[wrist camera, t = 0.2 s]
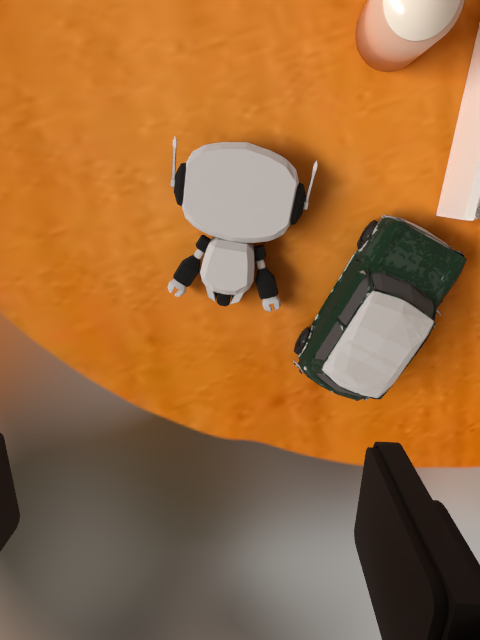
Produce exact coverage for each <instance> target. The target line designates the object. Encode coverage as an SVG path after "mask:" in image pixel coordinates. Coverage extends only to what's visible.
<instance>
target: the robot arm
mask: <svg viewBox="0 0 480 640" xmlns="http://www.w3.org/2000/svg"><path fill="white" fill-rule="evenodd" d="M19 518H20V513H19V508H18V504H17V498H16V493H15V489H14V484H13V479H12V474H11V469H10V465H9V460H8V455H7V450H6V445H5V440H4V437H3V435H2V434H1V433H0V551H1V550H2V548H3V547H4V545H5V544H6V542H7V541H8V540H9V538H10V537H11V535H12V534H13V533H14V531H15V530H16V528H17V525H18V523H19ZM354 537H355V544H356V548H357V552H358V555H359V559H360V562H361V566H362V570H363V573H364V576H365V580H366V584H367V587H368V591H369V594H370V598H371V602H372V605H373V609H374V612H375V615H376V619H377V623H378V626H379V630H380V634H381V637H382V640H480V565H479V563H478V561H477V560H476V558H475V556H474V555H473V553H472V551H471V550H470V548H469V546H468V544H467V543H466V541H465V539H464V538H463V536H462V534H461V533H460V531H459V530H458V528H457V526H456V524H455V523H454V521H453V519H452V518H451V516H450V514H449V513H448V511H447V509H446V508H445V507H444V505H443V504H442V503H441V502H439V501H437V500H432V498H431V496H430V495H429V493H428V491H427V489H426V488H425V486H424V484H423V483H422V481H421V479H420V477H419V475H418V474H417V472H416V470H415V468H414V467H413V465H412V463H411V461H410V459H409V458H408V456H407V454H406V452H405V451H404V449H403V447H402V446H401V444H400V443H394V442H375V444H374V446H373V448H370V447H368V448H367V450H366V455H365V461H364V468H363V475H362V482H361V488H360V495H359V502H358V509H357V515H356V522H355V529H354Z"/></svg>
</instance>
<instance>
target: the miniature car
mask: <svg viewBox="0 0 480 640" xmlns="http://www.w3.org/2000/svg"><path fill="white" fill-rule="evenodd" d="M382 218H384V219H382V221H381V219H380V221H379V222H377V221H375V220H373V221H372V222H370V224H369V225H368V226H367V227H366V228H365V230H364V231H363V233H362V235H361V236H360V239H359V241H358V243H357V247H358V251H357V252H355V253H354V255H353V256H352V258H351V260H350V261H349V263H348V265H347V266H346V268H345V270H344V271H343V273H342V275H341V276H340V278H339V280H338V281H337V283H336V285H335V286H334V288H333V290H332V291H331V293H330V295H329V296H328V298H327V300H326V301H325V303H324V305H323V306H322V308H321V310H320V311H319V313H318V315H317V316H316V318H315V320H314V321H313V323H312V326H311V329H310V328H308V327H307V328H306V329H304V330H303V331H302V333H301V334H300V336H299V338H298V340H297V342H296V344H295V348H294V352H295V353H296V354H298V355H299V356H298V358H299V362H298V364H297V363H296V362H295V360H293V363H294V364H295V365H296V366H297V367H298V368H299V369H300V370H299V371H300V373H301V374H302V373H303V372H304V374H306V375H307V377H308V378H310V379H311V380H313V381H314V382H316V383H317V384H318V385H320V386H322V387H323V388H325V389H327V390H329V391H331V392H333V393H335V394H337V395H341V396H344V397H347V398H351V399H354V400H356V401H358V400H361V399H364V398H365V399H364V400H367V399H369V398H373V399H381V398H382V397H383V396H384V395H385V394H386V392H387V391H388V390H389V389H390V387H391V386H392V385H393V383H394V382H395V381H396V380H397V378H398V377H399V376H400V374H401V373H402V372H403V371H404V369H405V368H406V367H407V366H408V364H409V363H410V362H411V360H412V359H413V358H414V356H415V355H416V354H417V352H418V351H419V350H420V348H421V347H422V346H423V344H424V343H425V342H426V340H427V338H428V336H429V335H430V333H431V331H432V329H433V328H434V326H435V323H434V320H435V314H436V312H437V313H438V314H439V315H440V316H441V314H440V312H439V311H438V310H437V307H438V306H439V304H440V303H441V302H442V300H443V298H444V297H445V295H446V294H447V293H448V291H449V290H450V289H451V287H452V286H453V285H454V283H455V282H456V281H457V279H458V277H459V275H460V274H461V271H462V269H463V267H464V264H465V262H466V260H467V259H466V258H464V255H463V254H462V252H461V251H455V250H453V249H452V248H451V247H450V246H449V245H448V244H447V243H445V242H444V241H442V240H440V239H439V238H437V237H436V236H434V235H433V234H431V233H430V232H428V231H427V230H425V229H424V228H422V227H420V226H418V225H416V224H413V223H411V222H409V221H407V220H405V219H402V218H397V217H392V216H389V215H383V216H382Z"/></svg>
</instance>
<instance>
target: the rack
mask: <svg viewBox="0 0 480 640" xmlns="http://www.w3.org/2000/svg"><path fill="white" fill-rule="evenodd" d="M436 216H441V217H448V218H454V219H460V220H470V221H474V219H480V23H479V28H478V32H477V36H476V41H475V45H474V50H473V54H472V59H471V63H470V67H469V72H468V76H467V81H466V85H465V90H464V94H463V98H462V103H461V107H460V112H459V116H458V121H457V125H456V129H455V134H454V138H453V143H452V147H451V152H450V156H449V160H448V165H447V169H446V174H445V178H444V183H443V187H442V191H441V196H440V200H439V205H438V209H437V214H436Z"/></svg>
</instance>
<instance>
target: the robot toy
mask: <svg viewBox="0 0 480 640" xmlns="http://www.w3.org/2000/svg"><path fill="white" fill-rule="evenodd" d="M176 147H177V139H176V136H175V137H174V139H173V174H172V179H171V187H174V194H175V197H176V201H177V204H178V205H180V206H182V209H183V212H184V215H185V218H186V219H187V220H188V221H189V222H190V223H191V224H192V225H193V226H194V227H195V228H197V229H199V230H200V231H202V232H205V233H207V234H209V235H211V236H214V238H212V239H210V238H208V237H207V236H205V235H201V237H200V238H199V240H198V242H197V243H196V247H197V248H198V249H197V250H196V252H195V253H194V255H192V256H190V257H188V258H186V259H185V260H183V261H182V262H181V264H180V265H179V267H178V269H177V270H176V272H175V273H174V279H173V280H171V281H169V285H168V290H169V292H170V293H172V292H173V289H174V287H176V288H177V289H179V290H178V291H177V292H176V293H175V296H182V295H183V294H184V293H185V292H186V287H188V286H190V285H191V283H192V282H193V280H194V279H195V277H196V276H197V274H198V273H199V268H200V259H201V257H202V255H203V254H204V253H205V255H204V258H203V262H202V266H201V271H200V274H201V279H202V282H203V283H204V285H205V286H206V290H207V294H208V297H209V298H211V299H212V300H214V301H216V298H217V303H218V304H219V305H221V306H227V305H229V303H230V298H231V295H232V298H231V303H230V304H233V303H236V302H239V300H240V299H241V297H242V295H243V294H244V292H246V291H247V290H248V289H249V288H250V287H251V285H252V283H253V280H254V264H255V262H256V263H257V267H258V271H257V275H256V281H255V282H256V285H257V289H258V293H259V296H260V298H261V299H263V302H262V306H263V307H264V309H265V310H266V311H269V312H270V311H272V309H271V307H270V304H273V303H274V307H275V310H278V308H279V307H280V299H279V298H278V297H277V295H278V293H279V292H278V288H277V285H276V281H275V277H274V275H273V274H272V273H271V272H270V271H269V270H268V269H267V268H266V267H265V263H264V259H265V257H266V252H265V248H264V245H258V246H255V247H254V245H253V244H252V243H257V242H266V241H270V240H274V239H276V238H278V237H280V236H282V235H283V234H284V233H285V232H286V230H287V229H288V227H289V226H290V225H293V224H296V222H297V221H298V219H299V218H300V216H301V215H302V212H303V209H305V210H307V207H308V204H309V203H308V199H309V195H310V191H311V187H312V183H313V179H314V175H315V172H316V170H317V166H318V165H317V161H316V162H315V163H314V166H313V172H312V176H311V180H310V184H309V188H308V192H307V196H306V195H305V189H304V185H303V184H302V183H300V182H299V180H298V175H297V171H296V169H295V168H294V167H293V166H292V164H291V163H290V162H289V161H288V160H287V159H285V158H284V157H282V156H280V155H278V154H276V153H275V152H273V151H271V150H268V149H265V148H262V147H259V146H256V145H254V144H251V143H248V142H220V143H213V144H208V145H204V146H202V147H200V148H198V149H196V150H195V151H193V152H192V153H191V155H190V157H189V158H188V160H187V162H186V163H182V164H181V165H180V166H179V168H178V170H177V172H176V174H175V169H176ZM305 199H306V200H305ZM217 292H218V293H217ZM217 295H218V296H217Z"/></svg>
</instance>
